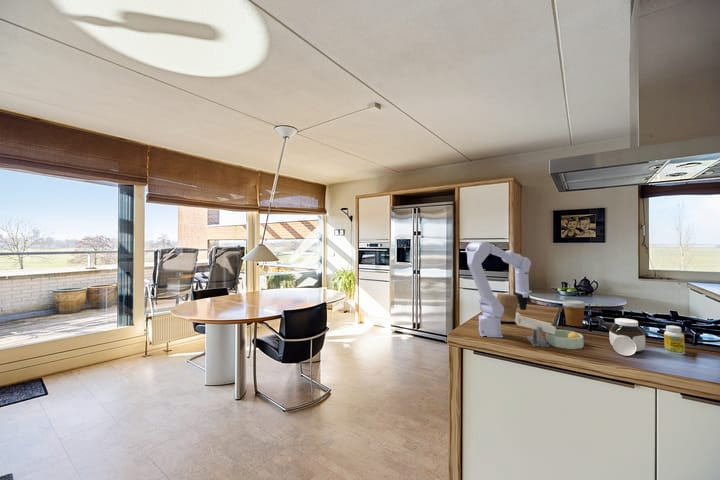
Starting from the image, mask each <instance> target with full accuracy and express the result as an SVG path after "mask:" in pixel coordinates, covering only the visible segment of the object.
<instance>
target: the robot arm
mask: <svg viewBox="0 0 720 480" xmlns="http://www.w3.org/2000/svg"><path fill="white" fill-rule="evenodd" d="M465 252H466V257H467V258H466V259H467V262H466V263H467V267H468V269H469V271H470V273H471V276H472V278H473V281H474V283H475V285H476V288H477V291H478V293H479V296H480V298H479V299H478V302H479V309H480V312H482V314H481V315H478V331H479V335H480V337H483V336H487V337H488V338H501V339H502V338H504V336H503V333H502V330H501V329H502V327H501V326H502V325H501V323H502V322H500V317H501V315H502V314H503V312H504V307H503V305H502V304H501V303H500V302H499V300H498V299H497V296H495V295H494V293H493V290H492V288H491V285H490V284H489V281H488V278H487V276H486V273H485V269H483V265H482V263H483V262H484V261H485V260H486V258H487V257H489V255H490V254H491V255H493V256H496V257H498V258H499V257H500V258H501V260H502V261H503V262H504V263H505V264H508V265H511V266H512V268H513V269H514V277H515V278H514V281H515V283H514V284H515V285H514V286H515V291H514V292H515V293H516V294H515V295H516V297H517V299H518V307H519V310H521V311H526V309H527V307H528V306H527V305H528V302H529V300H530V298H531V296H530V295H529V294H530V293H532V292H533V291H532V290H530V285H529V282H530V281H529V280H530V279H529V273H530V267H532V262H531V260H530V259H529V258H528V257H526V256H522V255H521V254H520V253H515V252H514V250H511V249H510V250H503V249H501V248H499V247H497V246H496V245H494V244H492V243H490V242H487V241H482V242H481V241H470V242H469V243H468V244H467V246H466V248H465ZM487 337H486V338H487Z"/></svg>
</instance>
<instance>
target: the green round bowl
mask: <svg viewBox="0 0 720 480" xmlns="http://www.w3.org/2000/svg"><path fill="white" fill-rule="evenodd" d="M571 332H574V333H577V334H578V335H579V338H568V334H569V333H571ZM545 341H546V342H547V343H548V344H549V345H550V346H553V347H555V348H559V349H560V348H561V349H565V348H566V349H567V350H577V349H578V350H579V349H582V348H583V347H584V346H585V345H584V344H585V343H584V342H585V341H584V336H583V334H582V333H579V332H576V331H573V330H567V329H556V330H555V334H552V333H548V332H545ZM566 349H565V350H566Z"/></svg>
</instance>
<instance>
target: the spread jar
mask: <svg viewBox="0 0 720 480" xmlns="http://www.w3.org/2000/svg"><path fill="white" fill-rule="evenodd" d="M608 331H609V338H608V339H609V343H610V345H611V346H612V348H613V350H614V351H615V352H616V353H617V354H619V355H620V356H624V357H627V356H628V357H629V356H630V357H631V356H632V355H637V354H641V353H643V351H644V350H645V349H646V335H645V332H644V331H643V329H641V328H640V327H639V321H638V320H636V319H632V318H631V319H630V318H624V317H623V318H622V317H619V318H615V319H614V324H613V325H611V326H610V328H609V330H608Z"/></svg>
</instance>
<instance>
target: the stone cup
mask: <svg viewBox="0 0 720 480" xmlns="http://www.w3.org/2000/svg"><path fill="white" fill-rule="evenodd" d="M516 295H517V294H511V293H497V294H496V298H497V299H498V300H499V302H500V303H501V304H502V305H503V307H504V312H503V314H502V315H501V317H500V322H501V323H516V322H515V317H516V313H517V308H518V307H519V302H518V299H517V297H516Z"/></svg>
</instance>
